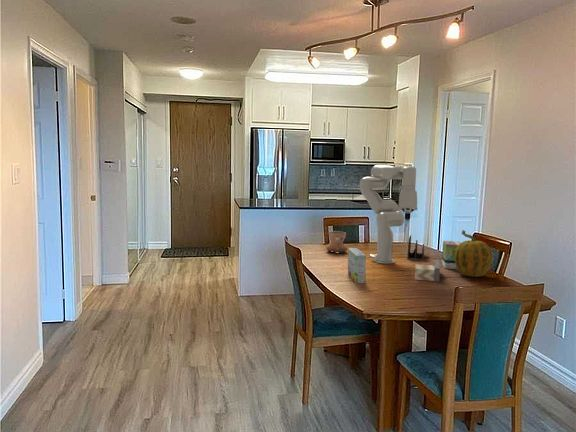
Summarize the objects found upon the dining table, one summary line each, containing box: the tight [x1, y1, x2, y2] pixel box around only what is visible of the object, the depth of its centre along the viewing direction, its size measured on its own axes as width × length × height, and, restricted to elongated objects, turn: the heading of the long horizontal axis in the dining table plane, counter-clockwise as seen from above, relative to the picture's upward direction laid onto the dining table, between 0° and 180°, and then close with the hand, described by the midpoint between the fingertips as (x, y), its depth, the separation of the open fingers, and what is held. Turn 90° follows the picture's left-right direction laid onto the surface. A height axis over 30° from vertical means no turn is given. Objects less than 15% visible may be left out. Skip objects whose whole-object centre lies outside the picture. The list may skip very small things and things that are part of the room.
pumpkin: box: [455, 229, 493, 278], centre depth 261 cm, size 19×19×25 cm
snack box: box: [347, 247, 367, 285], centre depth 253 cm, size 21×6×15 cm, turn 5°
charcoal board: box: [433, 259, 441, 283], centre depth 259 cm, size 2×22×7 cm, turn 163°
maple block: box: [414, 263, 435, 282], centre depth 257 cm, size 10×12×6 cm
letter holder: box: [406, 235, 425, 261], centre depth 313 cm, size 10×20×14 cm, turn 163°
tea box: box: [441, 240, 461, 270], centre depth 286 cm, size 15×10×15 cm, turn 168°
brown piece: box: [326, 230, 348, 253], centre depth 329 cm, size 18×14×14 cm
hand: (407, 220), depth 274 cm, fingers closed
